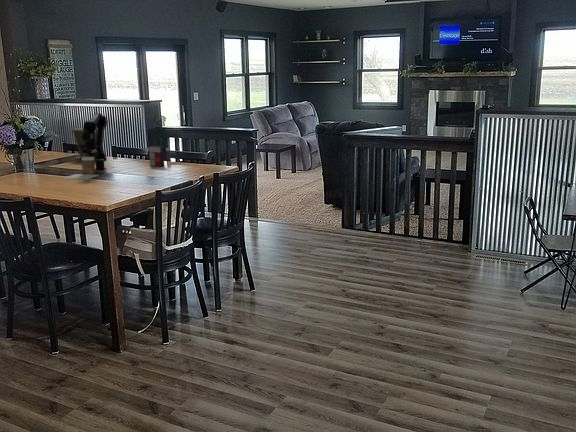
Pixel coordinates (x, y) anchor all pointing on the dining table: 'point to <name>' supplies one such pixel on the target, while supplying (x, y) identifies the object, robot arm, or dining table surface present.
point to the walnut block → (88, 165)
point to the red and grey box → (156, 156)
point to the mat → (80, 176)
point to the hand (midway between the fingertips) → (93, 161)
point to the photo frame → (81, 140)
